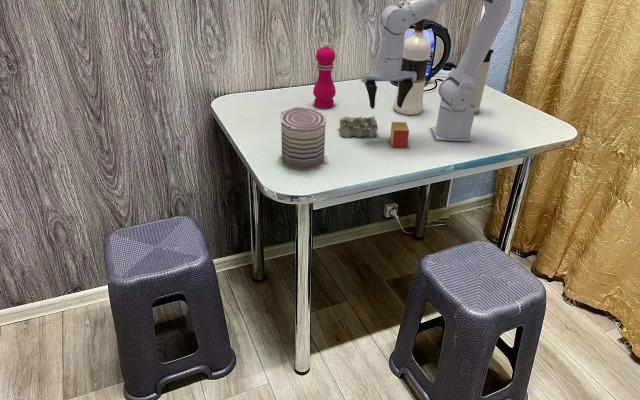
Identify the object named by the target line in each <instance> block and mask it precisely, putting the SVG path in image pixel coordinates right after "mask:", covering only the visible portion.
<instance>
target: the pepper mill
mask: <svg viewBox="0 0 640 400" xmlns="http://www.w3.org/2000/svg"><path fill="white" fill-rule="evenodd" d="M329 46H330V44H329V43H328V42H327V41H325V42H323V44H322V47H319V49H317V51H316V54H315V60H316V61H317V63H316V64H317V66H316V68H317V69H318V76H317V80H316V82H315V84H314V86H313V90H312V95H313V96H314V106H315V107H316V108H318V109H330V108H333V107H334V103H335V100H334V99H333V98H334V97H336V94H337V93H336V91H337V89H336V86H335V83H334V82H333V78H332V71H333V69H334V62H335V60H336V52H335V51H334V49H332V48H331V47H329Z"/></svg>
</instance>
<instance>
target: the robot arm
mask: <svg viewBox="0 0 640 400" xmlns="http://www.w3.org/2000/svg"><path fill="white" fill-rule="evenodd" d="M452 1H453V0H400V1H398V5H396V4H391V5H388V6H387V7H386V8H385V9H384V10H383V11H382V12H381V16H379V21H380V24H381V26H382V33H381V39H380V51H379V62H378V70H375V71H369V72H361V74H360V75H361V76H360V81H361V82H362V83H363V84H364V85H365V88H366V91H367V95H368V99H369V107H370V109H371V110H375V107H376V96H377V90H378V86H377V82H399V91H398V99H397V106H398V107H399V108H402V105H403V102H404V100H405V98H406V96H407V94H408V92H409V91H410V90H411V88H412V87H413V83H412V81H416V78H417V74H416V73H415V72H407V71H401V65H402V56H403V48H404V41H405V40H406V39H405V37H406V32H407V31H409V29H410V27H411V26H412V25H415V23H416V22H418V21H420V20H422V19H424V18H425V19H427V18H429V17H430V16H432V15H435V14H436V12H437V10H438V7H440V6H442V5H445V4H448V3H449V2H452ZM481 1H482V4H483V7H484V13H483V15H482V17H481V18H480V21H479V22H478V25H477V27H476V28H475V30H474V32H473V35H472V37H470V38H471V39H470V40H469V43H468V45H467V46H466V49H465V50H464V53H463V54H462V56H461V58H460V60H459V62H458V64H457V67H456V68H455V69H452V70H451V71H449V73H448V74H447V76H446V78H444V79H443V80H442V81H441V82H440V84H439V86H438V88H437V89H438V95H439V97H440V102H439V108H438V113H437V119H436V124H435V125H436V126H432V127H431V131H432V133H433V136H434V138H435V140H436V141H448V142H449V141H450V142H451V141H452V142H470V140H471V139H470V136H471V132H472V128H473V123H474V116H475V114H474V111H473V108H472V107H471V106H470V104H471V103H472V101H473V94H474V91H475V89H476V81H475V76H476V74H477V72H478V70H479V68H480V66H481V65H482V63H483V61H484V59H485V57H486V55H487V53H488V51H489V49H491V48H492V46H493V43H494V42H495V41H496V38H497V37H498V35H499V33H500V30H501V29H502V27H503V25H504V23H505V21H506V20H507V18H508V15H509V13H510V12H511V11H510V10H511V4H512V0H481Z"/></svg>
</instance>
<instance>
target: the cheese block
mask: <svg viewBox="0 0 640 400" xmlns="http://www.w3.org/2000/svg"><path fill="white" fill-rule="evenodd" d="M409 136H410V130H409V127H408V123H407V122H405V121H391V126H390V134H389V139H390V144H391V148H397V149H399V148H400V149H407V148H408V144H409V143H408V142H409Z"/></svg>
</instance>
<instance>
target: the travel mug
mask: <svg viewBox="0 0 640 400" xmlns="http://www.w3.org/2000/svg"><path fill="white" fill-rule="evenodd" d="M492 54H494V49H491V48H490V49H489V51H488V53H487V55H486V57H485V59H484V61H483V63H482V65H481V66H480V68H479V70H478V72H477V74H476V76H475V81H476V89H475V91H474V94H473V101H472V103H471V104H470V106H471V107H472V108H473V111H474V115H477V114H479V112H480V108H481V104H482V100H483V99H482V98H483V94H484V91H485V85H486V82H487V77H488V73H489V67H490V63H491V58H492Z"/></svg>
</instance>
